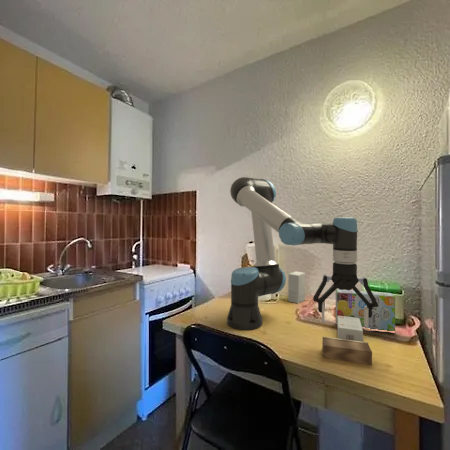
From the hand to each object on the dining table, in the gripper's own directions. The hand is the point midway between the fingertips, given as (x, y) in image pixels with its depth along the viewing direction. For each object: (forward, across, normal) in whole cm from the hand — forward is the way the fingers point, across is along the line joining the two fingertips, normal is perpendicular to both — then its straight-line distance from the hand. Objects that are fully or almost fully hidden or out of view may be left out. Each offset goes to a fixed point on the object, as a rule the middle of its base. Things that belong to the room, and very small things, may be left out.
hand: (344, 324), depth 90 cm
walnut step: (+9, 0, -5) cm, 10 cm away
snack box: (+9, +10, +22) cm, 26 cm away
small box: (+6, +2, +3) cm, 7 cm away
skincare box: (+9, -18, +52) cm, 56 cm away
